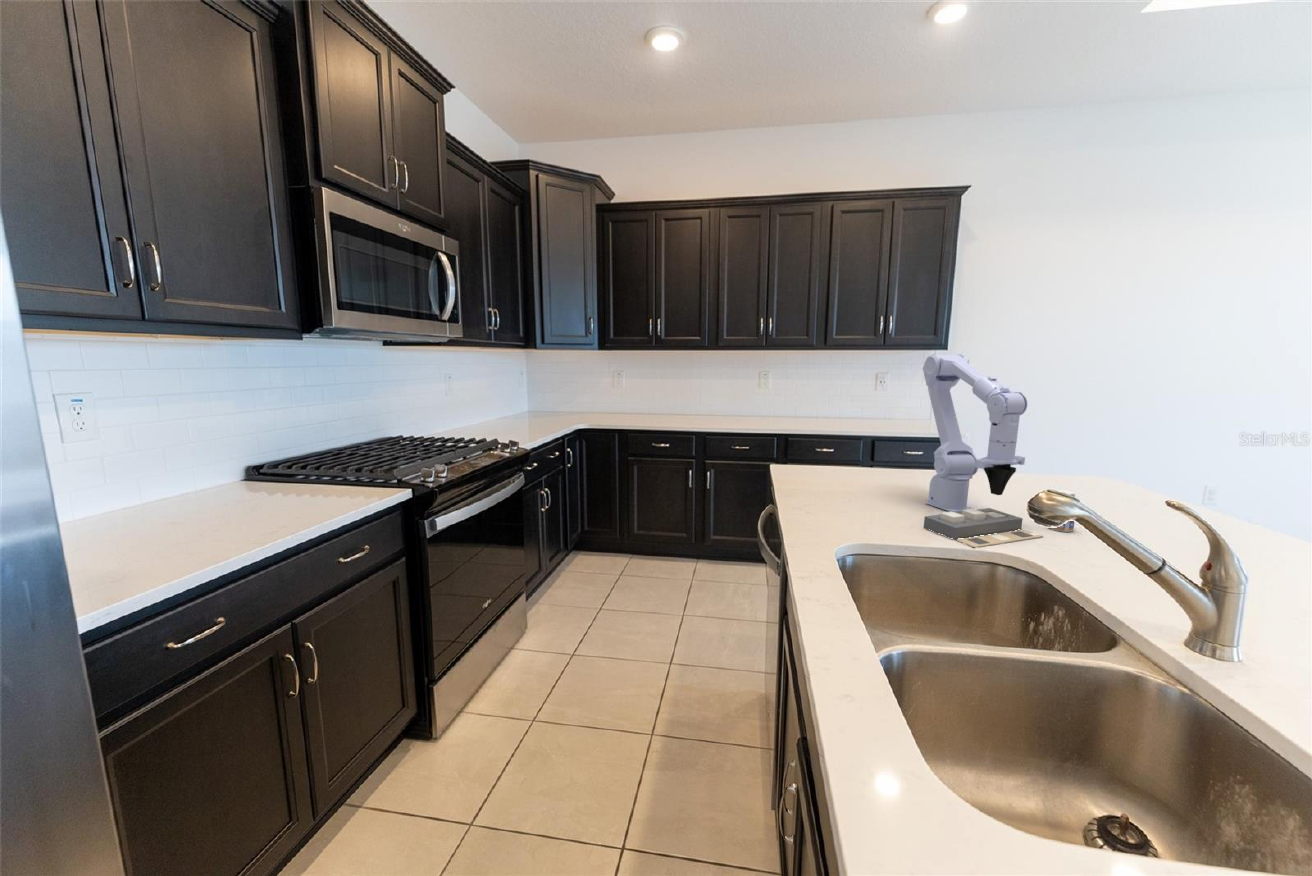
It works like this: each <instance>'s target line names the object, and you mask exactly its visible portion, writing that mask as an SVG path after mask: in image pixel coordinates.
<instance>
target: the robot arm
mask: <svg viewBox="0 0 1312 876" xmlns="http://www.w3.org/2000/svg"><path fill="white" fill-rule="evenodd" d="M922 371H923V375H924V376H923V377H924V380H925V385H926V386H927V390H928V396H929V399H930V403H931V409H932V412H933V416H934V421H935V425H936V428H937V430H936V431H937V433H938V438H939V442H940V446H939V447H938V448H936V449H935V451H934V452H933V458H934V463H933V468H934V470H935V473H936V474H934V475H933V476H932V477H931V479H930V482H929V490H928V497H927V499H928V500H927V501H926V502H925V504H927V505H929V506H932V507H935V508H938V509H941V510H943V511H945V512H962V510H968V509H975V508H974V507H971V506H969V505H968V499H969V498H968V496H969V488H970V480H971V479H973V476H974V475H976V474H977V473H978V471H979V469H980V470H981V469H982V470H983V471H984V472H985V475H986V476H987V480H988V484H989V489H990V494H992V495H996V496H1002V495H1003V493H1004V491H1005V489H1006V486H1007V484H1008V483H1009V481H1010V479H1011V477H1013V475H1014V474H1015V473H1016V471H1017V467H1015V465H1021V466H1022V465H1023V466H1024V465H1025V460H1026V457H1025V456H1021V455H1020V456H1019V455H1016V451H1017V450H1016V449H1017V441H1018V434H1019V424H1020V416H1022V415H1024V413H1025V412H1026V410H1027V408H1028V400H1027V397H1026V396H1025V395H1024V393H1023V392H1022V391H1014V392H1013V391H1012V390H1010V388H1009V387H1007V386H1004V385H1003V384H1002V383H1000V382H999V381H998V378H997V377H996V376H989V375H988V376H983V375H982V374H981V373H980V372H979V371H978V370H977V369H976V368H975V367H974V366H972V365H971V363H970V359H969V358H967V357H965V355H963V354H935V353H934V354H930V355H928V356H927V357H926V359H925V361H924V364H923V366H922ZM960 380H962V381H963V382H964V383H966V384H968V385H969V386H970V387H972V388H971V390H972V394H974V396H976V398H978V399H979V400H980V401H982V402H983V403H984V404H986V409H987V412H988V417H989V418H988V420H989V422H990V429H989V437H988V447H987V456H984V457H982V458H977V456H976V455H975V453H974V451H973V448H972V447H971V446H970V445H968V444H967V443H965V442H964V441H963V439H962V434H961V430H960V427H959V421H958V418H957V414H956V411H955V406H954V402H953V398H952V394H951V389H952V388H953V387H955V386H956V385H957V384H958V383H959V381H960Z"/></svg>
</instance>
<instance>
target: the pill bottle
mask: <svg viewBox="0 0 1312 876" xmlns="http://www.w3.org/2000/svg"><path fill="white" fill-rule="evenodd" d="M1056 490H1057V491H1059V492H1065V493H1067V494H1070V495H1071V496H1073V497H1076V493H1075V492H1074V491H1071V490H1068V489H1066V490H1065V489H1056ZM1075 523H1076V521H1075V522H1074V521H1068V522H1067V523H1066V524H1063V525H1062V526H1060V527H1057V528H1051V529H1050V530H1052V531H1055V530H1056V531H1057V532H1063V533H1071V532H1073V531H1074V529H1075ZM1056 531H1055V532H1056Z"/></svg>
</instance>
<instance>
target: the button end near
mask: <svg viewBox="0 0 1312 876" xmlns="http://www.w3.org/2000/svg"><path fill="white" fill-rule="evenodd" d="M940 514H941V517H940V519H941V520H943V521H946V522H949V523H951V524H957V523H964V517H965V516H964V515H961V514H958V513H955V512H949V511H945V512H940Z"/></svg>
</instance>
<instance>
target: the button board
mask: <svg viewBox="0 0 1312 876" xmlns="http://www.w3.org/2000/svg"><path fill="white" fill-rule="evenodd" d="M977 510H978V511H981V512H984V513H987V512H995V513H998V514H1002V515H1005V516H1006V517H1000V518H994V517H991V516H988V515H986V517H985V520H978V521H973V520H970V519H967V518H965V517H964V523H957V524H951V523H949V522H946V521H943V520H941V519H940V517H941V513H940V514H933V515H924V520H923V528H924V529H925V528H926V529H925V530H928V529H930V530H932V531H931V532H933V531H934V532H933V533H935V532H936V533H935V534H938V533H940V534H943V535H945V536H947V537H946V538H948V537H949V538H948V539H950V538H953V539H958V538H969V537H974V536H980V535H988V534H994V533H1004V532H1009V531H1015V530H1018V529H1021V530H1022V529H1023V528H1022V527H1023V520H1024V518H1022V517H1019V516H1016V515H1014V514H1010V513H1006V512H1005V511H1000V510H998V509H993V508H991V507H987V508H978V509H977ZM955 513H958V514H961V515H962V512H955ZM930 530H929V531H930ZM940 534H939V535H940ZM943 535H942V536H943ZM945 536H944V537H945ZM953 539H952V540H953Z"/></svg>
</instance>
